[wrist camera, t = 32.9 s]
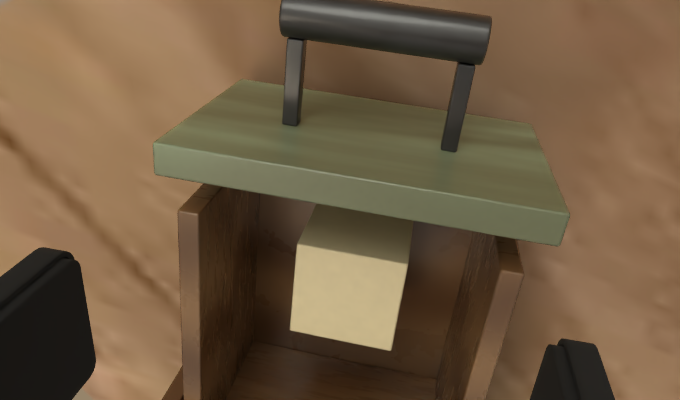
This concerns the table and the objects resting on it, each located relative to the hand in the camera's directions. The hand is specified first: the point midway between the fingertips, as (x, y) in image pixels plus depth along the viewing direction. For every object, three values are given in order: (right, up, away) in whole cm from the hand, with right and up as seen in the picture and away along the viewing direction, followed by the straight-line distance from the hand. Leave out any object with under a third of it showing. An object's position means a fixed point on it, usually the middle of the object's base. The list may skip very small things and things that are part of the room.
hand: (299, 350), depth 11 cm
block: (+2, +1, +16) cm, 16 cm away
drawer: (+2, +3, +17) cm, 17 cm away
